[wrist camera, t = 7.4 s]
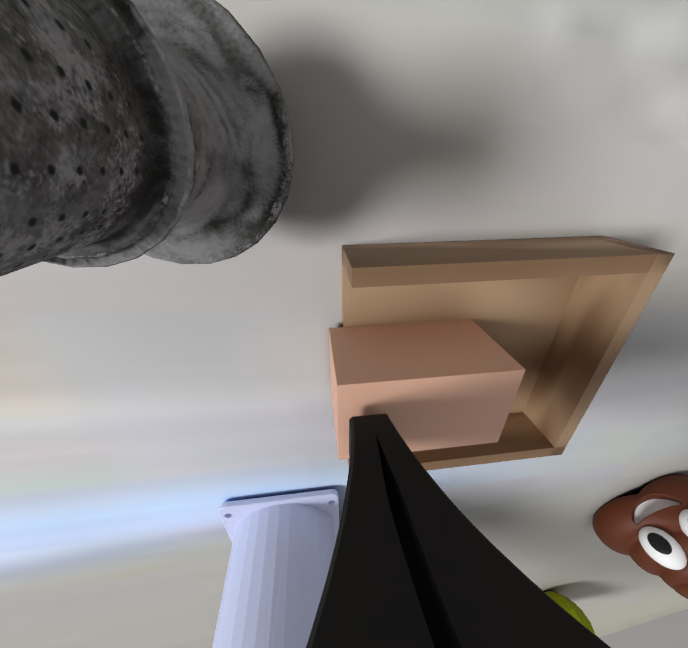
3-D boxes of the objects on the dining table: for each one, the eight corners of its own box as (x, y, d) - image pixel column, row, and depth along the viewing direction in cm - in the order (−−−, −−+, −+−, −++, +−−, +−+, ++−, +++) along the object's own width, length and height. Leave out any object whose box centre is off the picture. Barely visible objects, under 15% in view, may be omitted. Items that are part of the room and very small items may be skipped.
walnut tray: (525, 413, 19) (561, 454, 16) (344, 432, 17) (350, 479, 15) (601, 235, 13) (674, 253, 10) (341, 245, 12) (352, 267, 9)
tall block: (331, 392, 15) (455, 381, 16) (338, 459, 12) (497, 442, 12) (328, 328, 13) (471, 318, 14) (337, 385, 10) (525, 369, 10)
